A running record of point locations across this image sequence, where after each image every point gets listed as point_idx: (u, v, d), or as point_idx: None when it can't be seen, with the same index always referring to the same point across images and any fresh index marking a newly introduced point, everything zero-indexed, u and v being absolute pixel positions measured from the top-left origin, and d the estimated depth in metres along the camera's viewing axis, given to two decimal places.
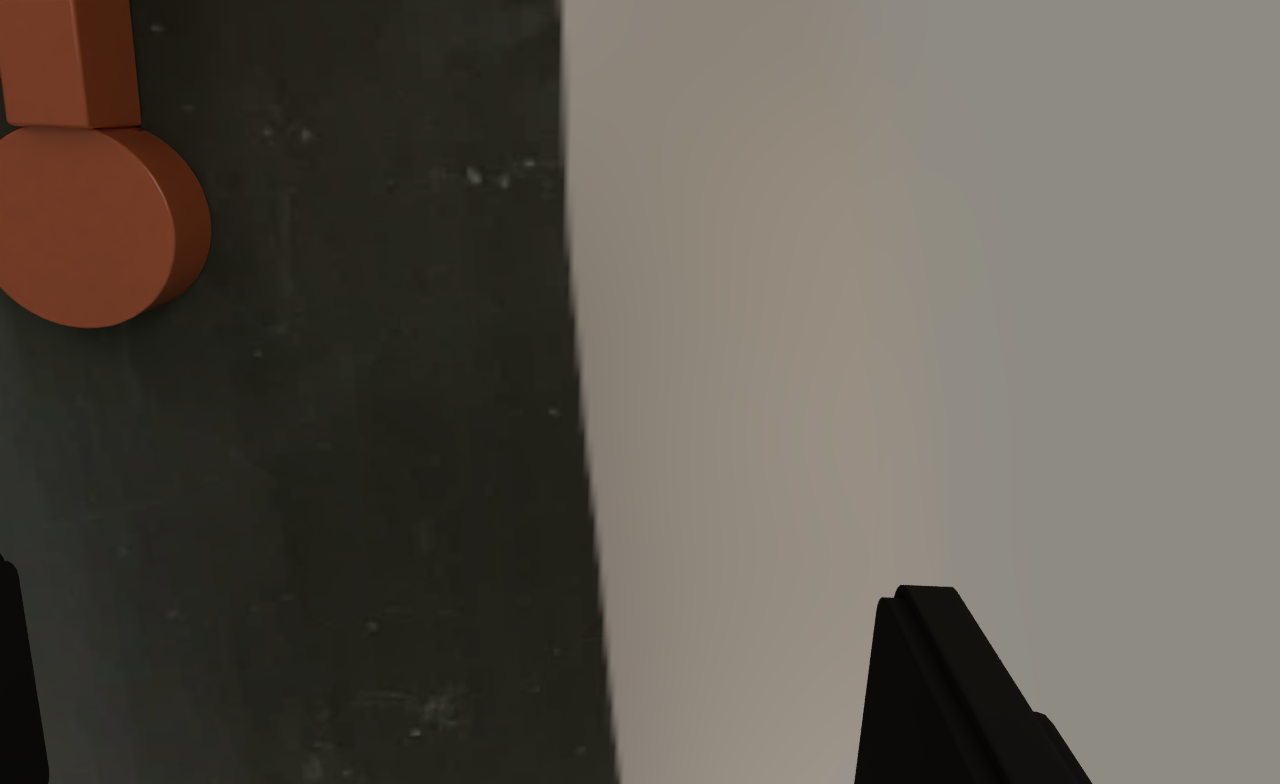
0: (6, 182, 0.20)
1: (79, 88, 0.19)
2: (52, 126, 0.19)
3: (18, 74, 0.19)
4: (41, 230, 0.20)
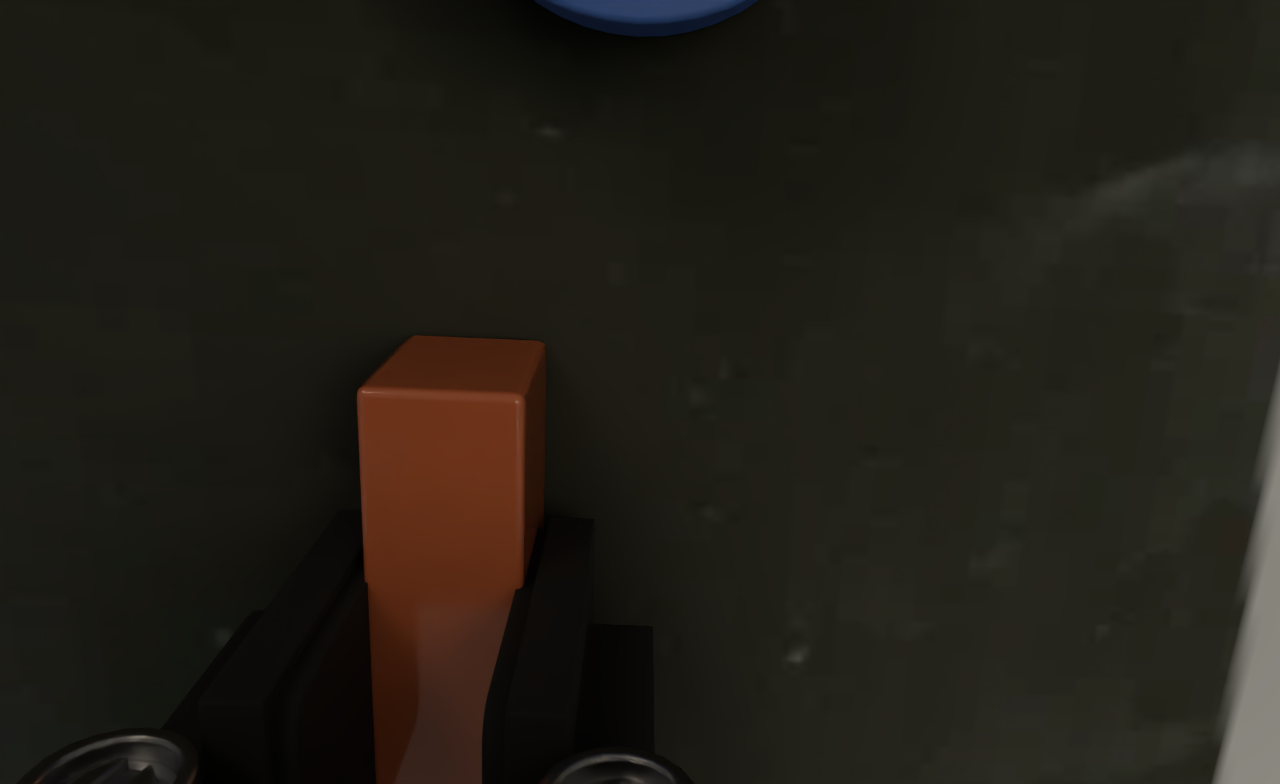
0: None
1: None
2: None
3: None
4: None
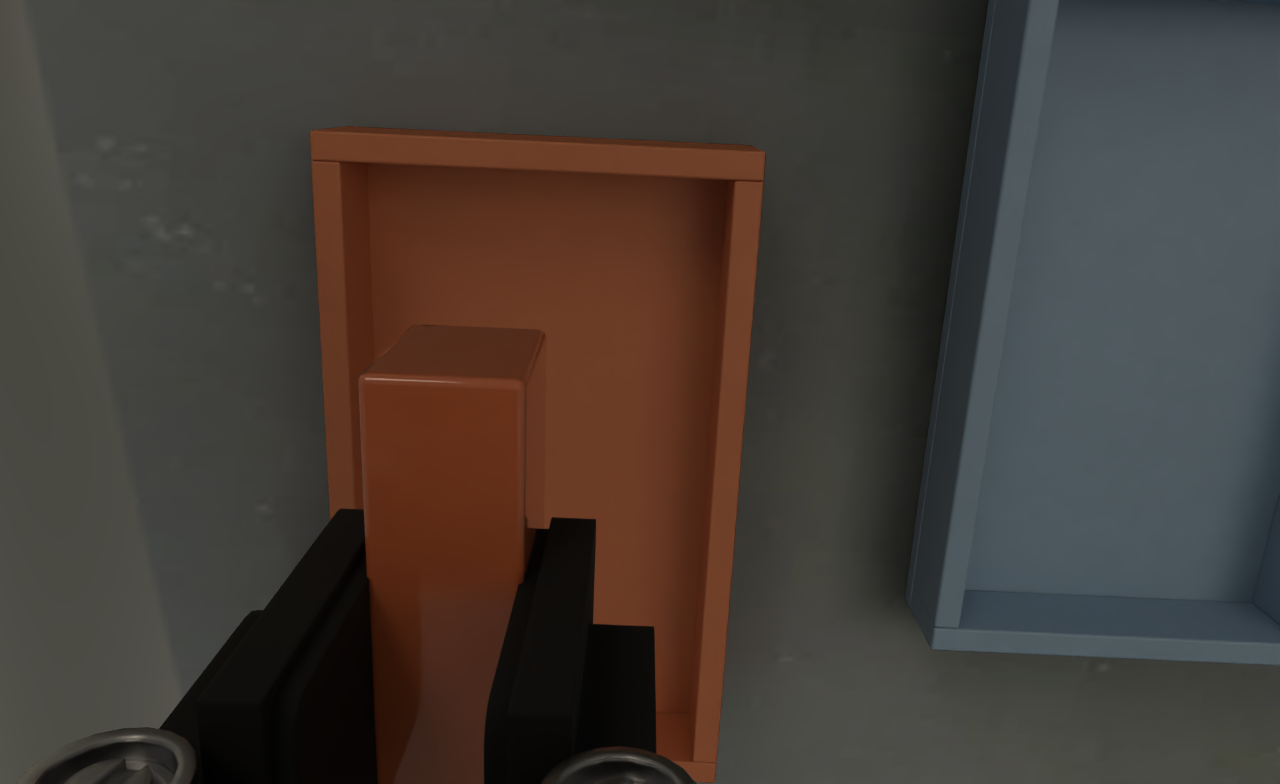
0: None
1: None
2: None
3: None
4: None
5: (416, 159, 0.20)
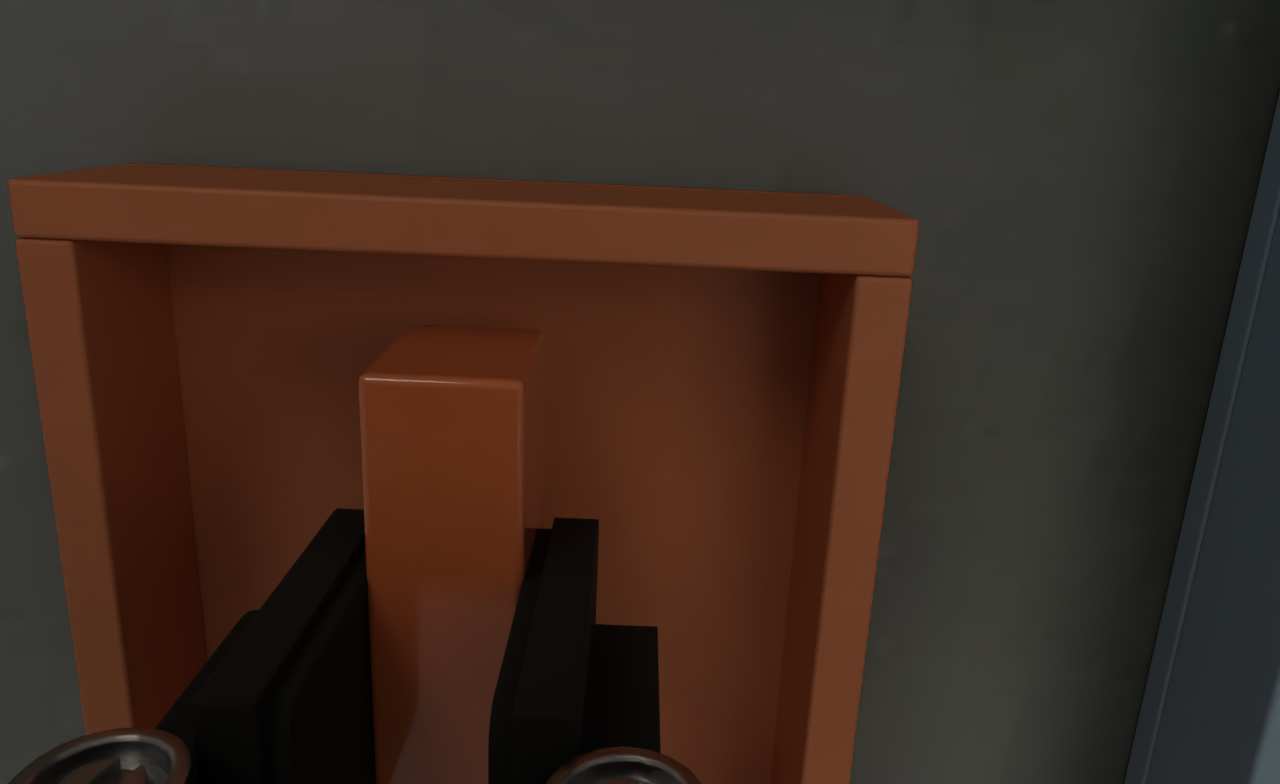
0: None
1: None
2: None
3: None
4: None
5: (223, 236, 0.10)
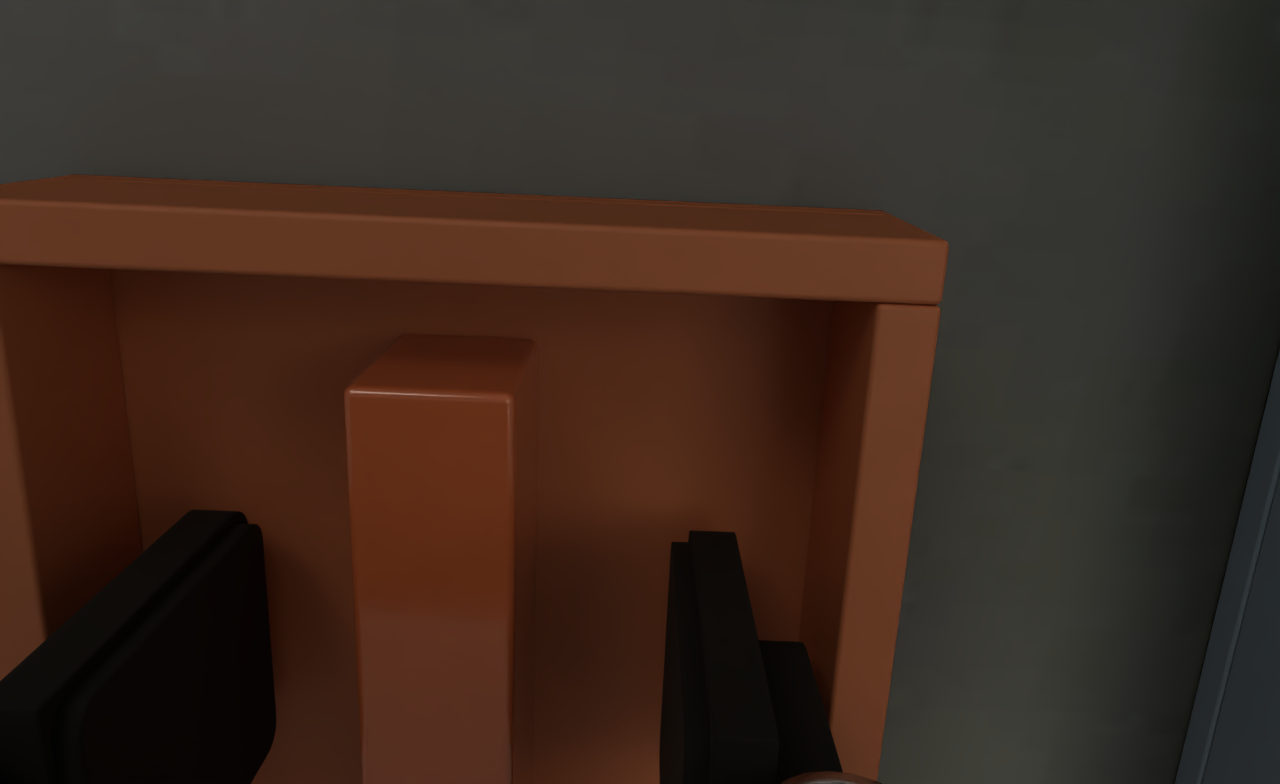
0: None
1: None
2: None
3: None
4: None
5: (161, 259, 0.09)
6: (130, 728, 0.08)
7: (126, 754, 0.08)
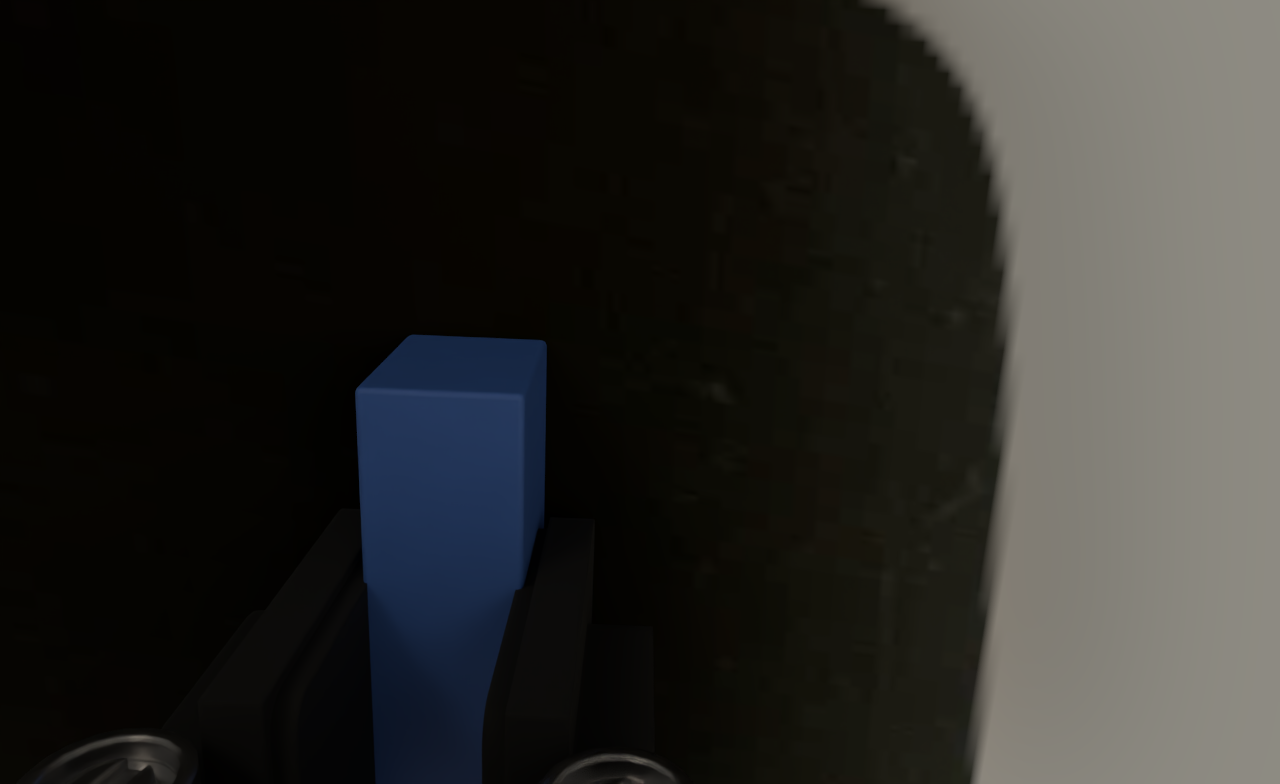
0: None
1: None
2: None
3: None
4: None
5: None
6: (326, 722, 0.08)
7: (323, 747, 0.08)
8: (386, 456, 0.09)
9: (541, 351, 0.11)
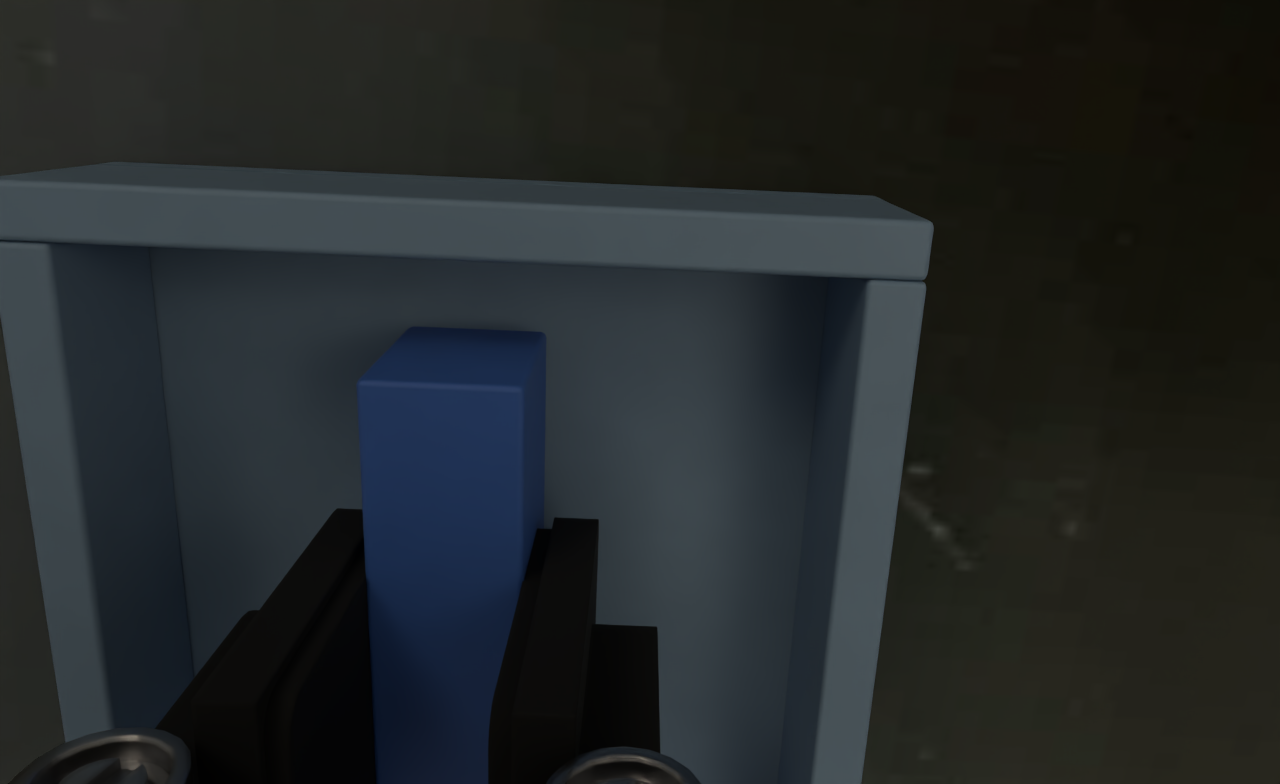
0: None
1: None
2: None
3: None
4: None
5: None
6: (321, 722, 0.08)
7: (317, 747, 0.08)
8: (387, 448, 0.09)
9: (541, 343, 0.11)
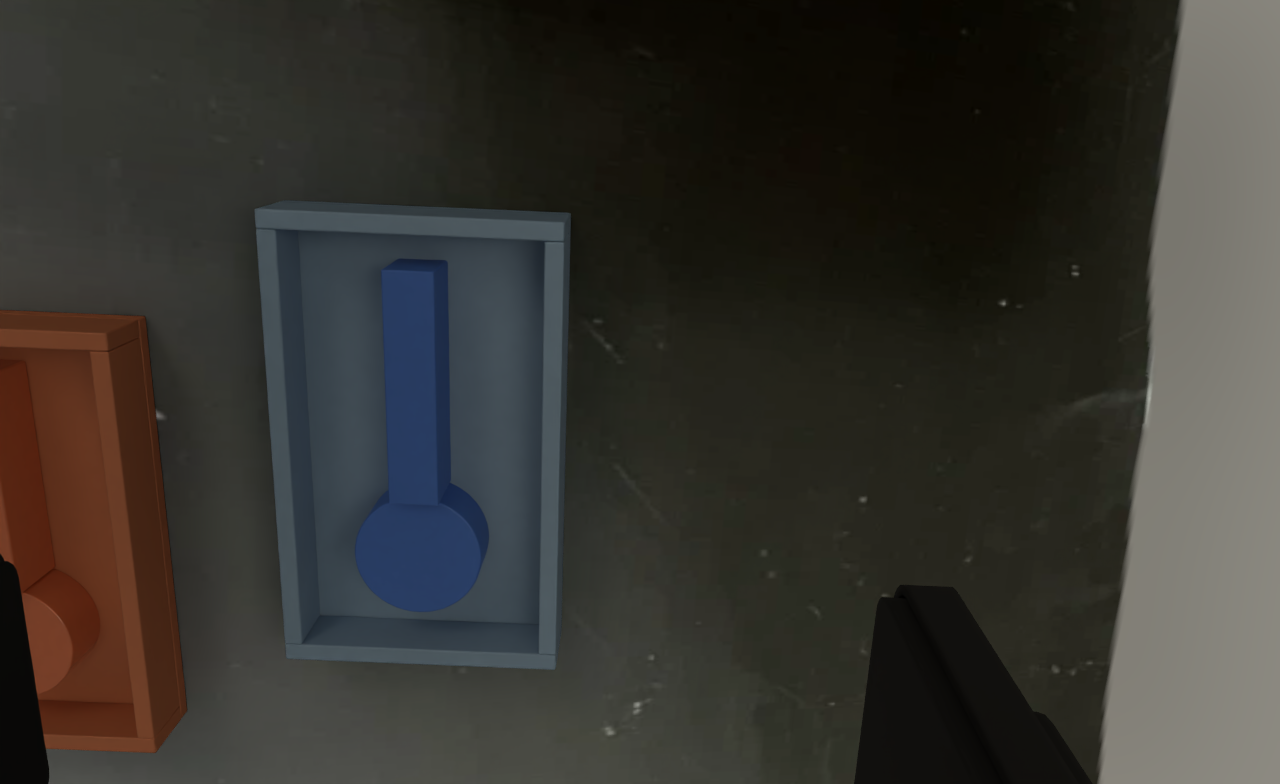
0: None
1: None
2: None
3: None
4: None
5: None
6: None
7: None
8: (390, 292, 0.29)
9: (444, 263, 0.31)
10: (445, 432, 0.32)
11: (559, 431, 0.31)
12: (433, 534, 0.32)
